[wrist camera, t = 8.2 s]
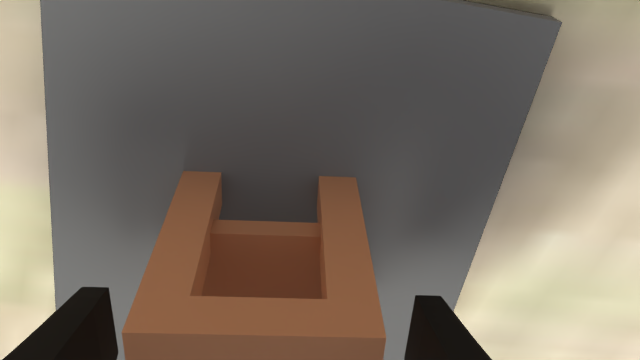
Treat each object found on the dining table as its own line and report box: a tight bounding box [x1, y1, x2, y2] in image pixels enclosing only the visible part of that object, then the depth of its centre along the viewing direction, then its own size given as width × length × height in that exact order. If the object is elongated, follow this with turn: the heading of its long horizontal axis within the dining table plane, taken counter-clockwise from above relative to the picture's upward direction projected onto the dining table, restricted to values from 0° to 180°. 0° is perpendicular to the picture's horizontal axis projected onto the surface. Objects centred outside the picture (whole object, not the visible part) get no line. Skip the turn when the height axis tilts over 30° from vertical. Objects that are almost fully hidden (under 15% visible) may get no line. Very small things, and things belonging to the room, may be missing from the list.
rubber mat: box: [40, 0, 562, 360], centre depth 17 cm, size 12×15×1 cm
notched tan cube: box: [122, 171, 386, 360], centre depth 14 cm, size 5×5×6 cm
